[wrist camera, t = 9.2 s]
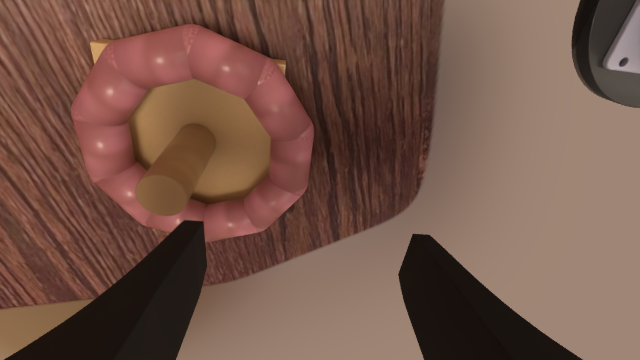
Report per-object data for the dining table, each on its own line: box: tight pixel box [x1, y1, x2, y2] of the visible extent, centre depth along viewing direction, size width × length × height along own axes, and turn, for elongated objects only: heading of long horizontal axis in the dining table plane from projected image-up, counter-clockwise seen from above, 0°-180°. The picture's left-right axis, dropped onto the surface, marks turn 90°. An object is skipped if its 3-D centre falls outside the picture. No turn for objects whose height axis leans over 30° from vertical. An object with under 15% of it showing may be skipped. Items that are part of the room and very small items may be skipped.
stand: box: [90, 39, 286, 216], centre depth 16 cm, size 9×9×7 cm
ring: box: [71, 24, 314, 242], centre depth 17 cm, size 11×12×2 cm
